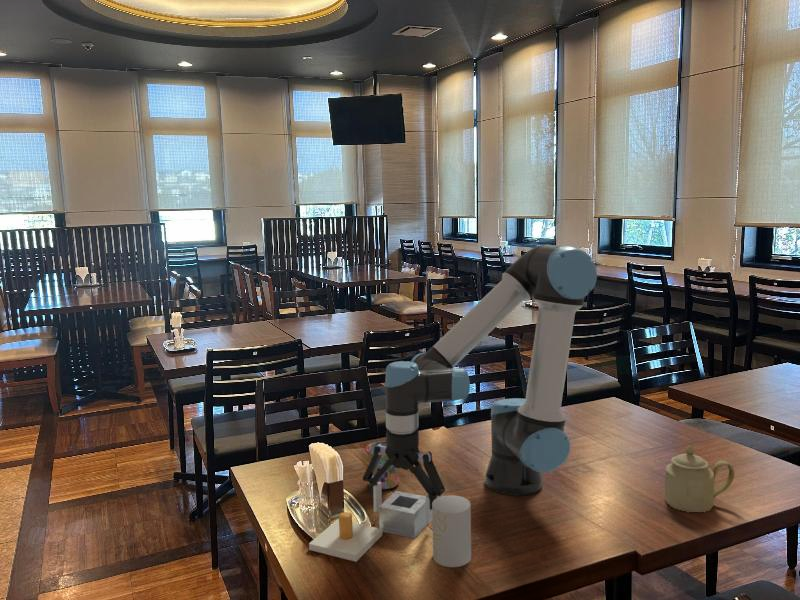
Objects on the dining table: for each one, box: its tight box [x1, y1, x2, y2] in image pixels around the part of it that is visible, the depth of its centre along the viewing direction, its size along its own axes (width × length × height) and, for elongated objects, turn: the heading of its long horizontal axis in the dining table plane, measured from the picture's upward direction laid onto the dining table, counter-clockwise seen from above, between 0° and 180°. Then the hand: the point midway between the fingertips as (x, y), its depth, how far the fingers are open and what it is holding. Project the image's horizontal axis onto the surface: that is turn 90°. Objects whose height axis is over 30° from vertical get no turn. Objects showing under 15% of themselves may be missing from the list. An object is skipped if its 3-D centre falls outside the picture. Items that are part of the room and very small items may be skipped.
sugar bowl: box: [664, 444, 735, 513], centre depth 157 cm, size 15×11×15 cm
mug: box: [365, 440, 400, 490], centre depth 173 cm, size 12×9×11 cm
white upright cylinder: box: [431, 494, 472, 568], centre depth 136 cm, size 8×8×12 cm
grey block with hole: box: [378, 490, 428, 540], centre depth 150 cm, size 9×9×6 cm
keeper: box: [308, 511, 383, 563], centre depth 143 cm, size 12×12×6 cm
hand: (403, 515), depth 150 cm, fingers open, 13 cm apart
